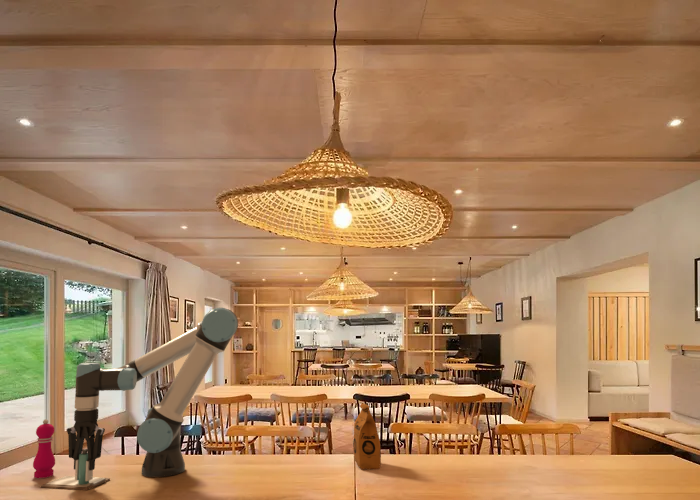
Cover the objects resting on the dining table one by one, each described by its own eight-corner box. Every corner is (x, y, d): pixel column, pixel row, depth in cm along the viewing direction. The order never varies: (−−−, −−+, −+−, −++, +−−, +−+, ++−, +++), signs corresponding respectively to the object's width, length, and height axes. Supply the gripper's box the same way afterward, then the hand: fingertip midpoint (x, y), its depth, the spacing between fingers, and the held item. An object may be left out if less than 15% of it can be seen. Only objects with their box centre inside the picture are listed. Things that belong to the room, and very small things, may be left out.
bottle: (91, 482, 201) (92, 448, 203) (84, 484, 198) (85, 450, 199) (82, 481, 202) (84, 448, 203) (75, 484, 199) (77, 450, 200)
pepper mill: (45, 479, 210) (47, 421, 212) (27, 478, 212) (29, 421, 214) (59, 473, 217) (61, 417, 219) (42, 473, 219) (43, 417, 221)
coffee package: (355, 470, 213) (354, 408, 215) (352, 462, 225) (351, 403, 227) (383, 469, 214) (381, 407, 216) (378, 461, 226) (377, 402, 228)
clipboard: (110, 480, 207) (111, 476, 207) (88, 490, 195) (88, 486, 195) (65, 477, 211) (65, 474, 211) (40, 487, 200) (40, 483, 200)
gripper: (114, 407, 205) (111, 478, 202) (73, 406, 209) (70, 475, 206) (100, 411, 197) (97, 484, 195) (58, 409, 201) (55, 481, 199)
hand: (83, 479), depth 200 cm, fingers closed on bottle, 3 cm apart
